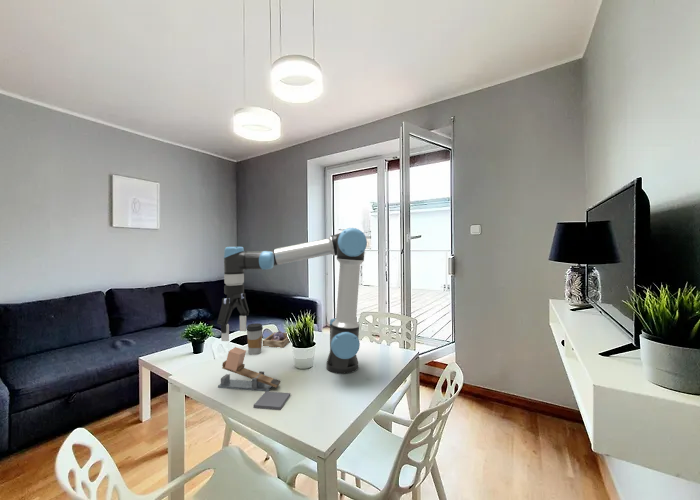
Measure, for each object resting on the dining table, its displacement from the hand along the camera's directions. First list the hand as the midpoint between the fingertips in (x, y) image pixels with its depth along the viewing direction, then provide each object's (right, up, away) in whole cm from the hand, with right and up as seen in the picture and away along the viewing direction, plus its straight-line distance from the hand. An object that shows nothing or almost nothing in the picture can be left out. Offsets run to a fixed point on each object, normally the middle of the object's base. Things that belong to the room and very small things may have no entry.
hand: (234, 335), depth 121 cm
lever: (+7, -16, -1) cm, 18 cm away
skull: (+4, -20, +53) cm, 57 cm away
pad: (+19, -20, -13) cm, 31 cm away
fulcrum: (+5, -20, -1) cm, 21 cm away
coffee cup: (-4, -20, +37) cm, 43 cm away
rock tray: (+5, -20, +54) cm, 58 cm away
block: (-1, -13, 0) cm, 13 cm away
